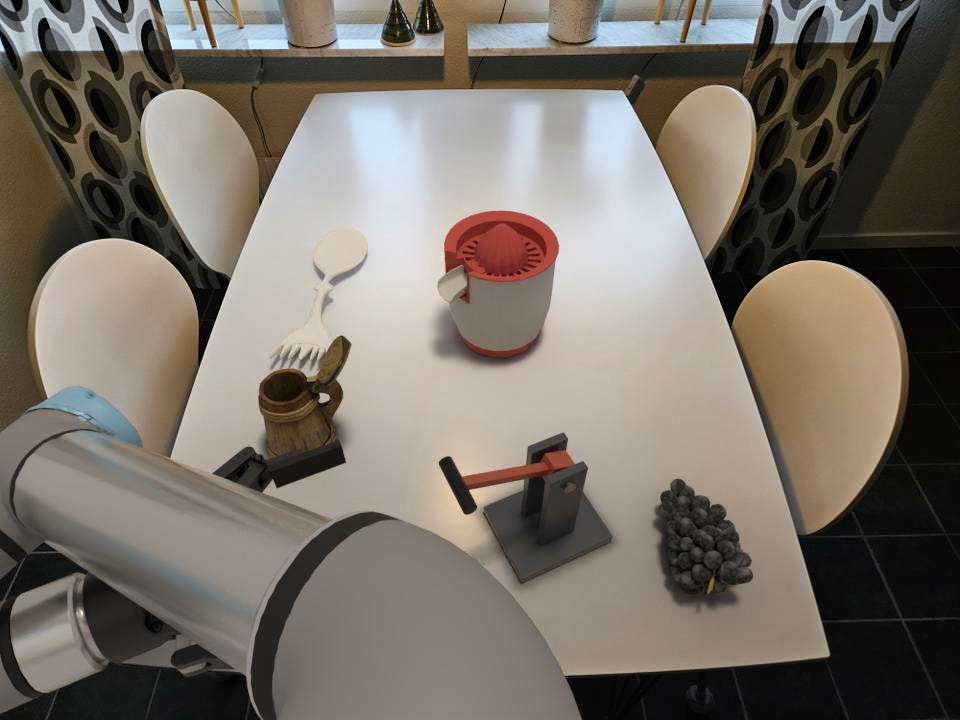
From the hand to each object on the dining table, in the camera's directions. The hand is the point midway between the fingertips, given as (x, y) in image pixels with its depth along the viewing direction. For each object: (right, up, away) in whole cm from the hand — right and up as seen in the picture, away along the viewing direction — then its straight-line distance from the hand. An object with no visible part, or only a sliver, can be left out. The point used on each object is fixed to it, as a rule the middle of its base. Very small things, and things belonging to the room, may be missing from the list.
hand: (366, 510), depth 55 cm
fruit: (+35, -9, +21) cm, 41 cm away
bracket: (+18, -7, +22) cm, 29 cm away
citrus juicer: (+12, +17, +45) cm, 49 cm away
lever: (+13, +1, +10) cm, 16 cm away
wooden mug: (-12, +2, +31) cm, 33 cm away
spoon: (-15, +23, +50) cm, 57 cm away
